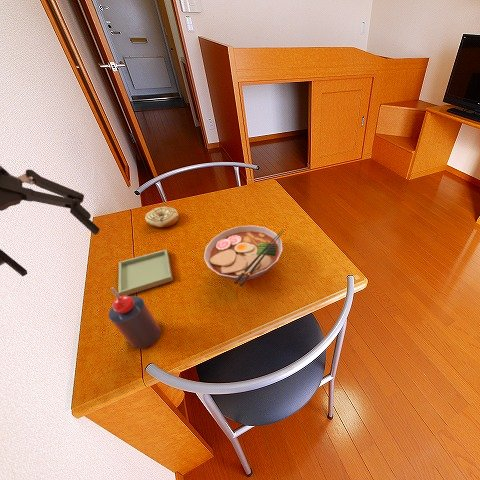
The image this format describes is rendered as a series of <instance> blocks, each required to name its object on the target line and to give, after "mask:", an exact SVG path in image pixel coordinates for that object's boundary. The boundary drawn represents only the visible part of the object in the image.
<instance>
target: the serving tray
mask: <svg viewBox="0 0 480 480" xmlns="http://www.w3.org/2000/svg"><path fill="white" fill-rule="evenodd" d="M170 262H171V261H170V257H169V252H168V250H167V249H162V250H159V251H155V252H151V253H148V254H143V255H140V256H136V257H131V258H128V259H125V260H122V261H118V285H117V287H118V288H117V289H118V291H117V293H118V294H119V296H123V295H126V296H130V295H132V294H135V293H138V292H142V291H144V290H148V289H151V288H154V287H157V286H160V285H161V286H162V285H164V284H167V283H170V282H173V281H174V280H173V273H172V267H171V263H170Z"/></svg>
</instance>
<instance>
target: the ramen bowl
mask: <svg viewBox="0 0 480 480" xmlns="http://www.w3.org/2000/svg"><path fill="white" fill-rule="evenodd" d="M284 232H285V229H284V230H283V229H281V230H280V232H278V233H276V232H275V231H273V230H271V229H269V228H267V227H266V226H258V225H253V224H252V225H240V226H239V225H238V226H235V227H232V228H229V229H226V230H223V231H222V232H220V233H219V234H217V235H215V236H214V237H212V238H211V240H210V241H209V243H208V244H207V245H205V249H204V254H203V260H204V262H205V264H206V265H207V268H208V269H210V270H211V271H213V272H215V274H217V275H219V276H221V277H222V278H224V279H228V280H233V284H234V285H237V284H238V282H239V281H240V282H239V287H243V285H244V284H245V283H246V282H247V280H253V279H255V278H258V277H260V276H263V275H265V274H266V273H267V272H269V270H270V269H272V268H273V267H274V266H275V265H276V264H277V262H278V261H279V259H280V256H281V255H282V252H283V241H282V239H281V238H280V236H281V235H282V234H283V233H284Z"/></svg>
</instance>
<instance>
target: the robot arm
mask: <svg viewBox="0 0 480 480" xmlns="http://www.w3.org/2000/svg"><path fill="white" fill-rule="evenodd" d="M23 184H29V185H30V186H31V185H32V186H33V185H34V186H36V187H38V188H40V189H43V190H45V191H47V192H50V193H47V192H42V191H38V190H34V189H32V188H29V187H24V186H23ZM52 193H53V194H52ZM84 199H85V194H84V193H82V192H80V191H77V190H74V189H72V188H70V187H68V186H64V185H62V184H60V183H57V182H55V181H52V180H50V179H47V178H45V177H43V176H41V175H40V174H38V173H37V172H36V171H34V170H33V169H30V168H29V169H26V170H25V173H23V174H20V175H19V176H14V175H12V174H11V173H10V172H9V171H8V170H6V169H5V168H4V167H3V166H2V165H0V212H3V211H5V210H8V208H10V207H14V206H17V205H19V204H20V205H21V202H22V201H27V202H36V203H40V204H45V205H50V206H55V207H60V208H65V209H69V213H70V214H71V215H72V216H73V217H74V218H76V220H78V222H80V223H81V224H82V225H83V226H84V227H85V228H86V229H88V230H89V231H90V232H91V233H92V234H93V235H94V236H96V235H98V234H99V233H100V229H101V228H100V227H98V226H97V225H96V224H95V223H94V222H93V221H92V219H91V217H92V214H91V213H90V212H89V211H88V210H87V209H86V208H84V206H83V205H81V204H82V203H83V202H84ZM4 264H6V265H8V267H10V268H11V269H12V270H14V271H15V272H16V273H17V274H19V275H20V276H21V277H25V276H27V275H28V270H27V269H26V268H24V267H23V265H21V264H20V263H19V262H17V261H16V260H15V259H14V258H13V257H11V256H10V255H9V254H7V253H6V252H5V251H3V250H2V248H0V266H2V265H4Z"/></svg>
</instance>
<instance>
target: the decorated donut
mask: <svg viewBox="0 0 480 480" xmlns="http://www.w3.org/2000/svg"><path fill="white" fill-rule="evenodd" d="M144 219H145V222H146V223H147V224H148V226H149V225H150V226H151V227H153V228H167V227H170V226H173V225H175V224H176V223H177V222H178V220H179V212H178V211H177V209H175V208H174V207H171V206H159V207H155V208H152V209H151V210H150V211H149V212H147V213H146V214H145V217H144Z"/></svg>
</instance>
